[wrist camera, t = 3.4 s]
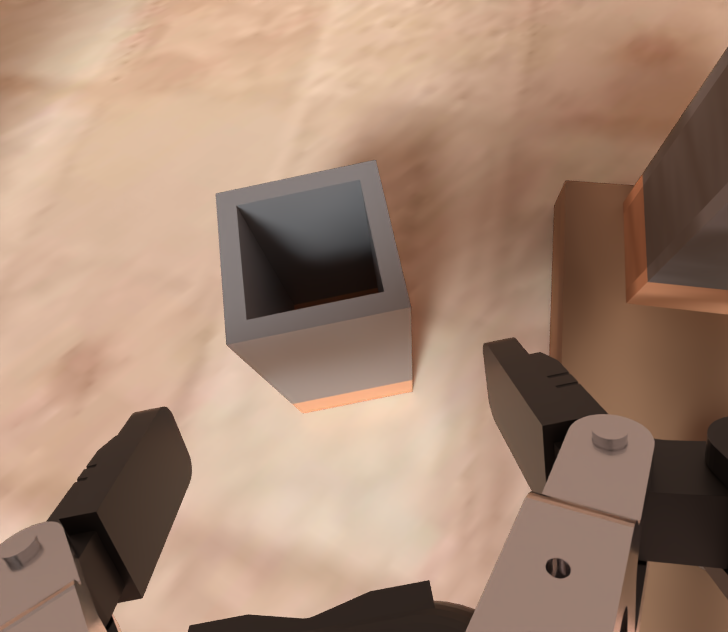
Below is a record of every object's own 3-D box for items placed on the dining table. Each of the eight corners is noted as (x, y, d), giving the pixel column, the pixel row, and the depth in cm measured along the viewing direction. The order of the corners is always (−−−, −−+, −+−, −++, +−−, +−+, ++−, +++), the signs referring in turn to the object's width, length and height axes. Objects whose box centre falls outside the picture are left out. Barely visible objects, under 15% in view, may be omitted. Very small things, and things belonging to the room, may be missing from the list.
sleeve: (412, 391, 21) (410, 307, 13) (302, 413, 22) (226, 344, 13) (390, 292, 23) (375, 159, 15) (289, 312, 23) (215, 193, 15)
